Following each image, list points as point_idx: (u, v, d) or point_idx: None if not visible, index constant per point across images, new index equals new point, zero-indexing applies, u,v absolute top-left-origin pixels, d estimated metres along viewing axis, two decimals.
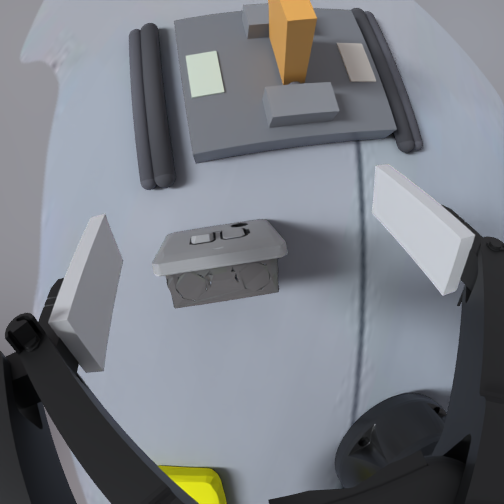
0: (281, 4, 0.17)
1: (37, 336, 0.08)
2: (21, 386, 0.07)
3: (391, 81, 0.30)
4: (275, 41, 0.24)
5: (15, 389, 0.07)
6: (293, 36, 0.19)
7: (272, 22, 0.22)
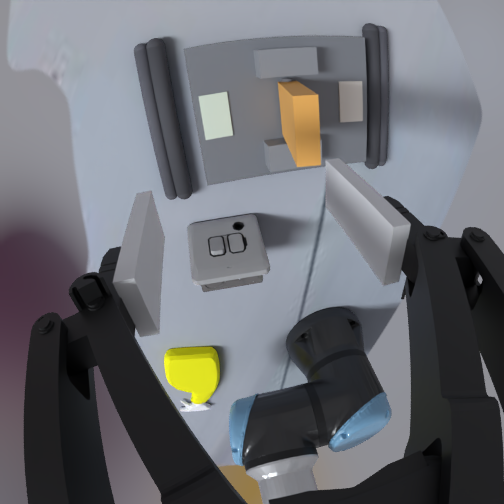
0: (296, 147, 0.25)
1: (102, 296, 0.09)
2: (79, 348, 0.09)
3: (377, 112, 0.36)
4: (283, 110, 0.30)
5: (72, 352, 0.09)
6: None
7: (284, 101, 0.28)
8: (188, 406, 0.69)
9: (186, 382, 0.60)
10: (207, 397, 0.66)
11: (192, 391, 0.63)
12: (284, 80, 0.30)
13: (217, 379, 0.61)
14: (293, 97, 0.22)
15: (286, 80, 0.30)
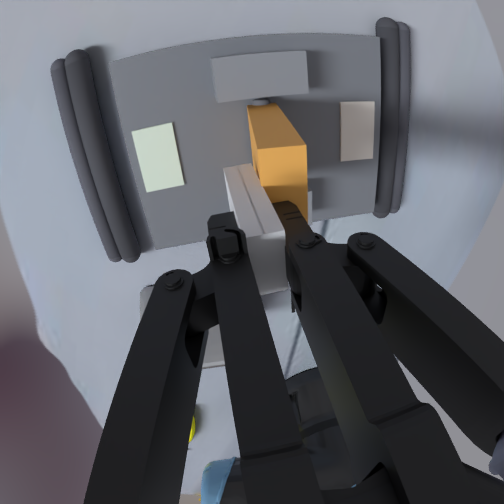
0: None
1: (238, 253, 0.10)
2: (209, 304, 0.10)
3: (393, 145, 0.26)
4: None
5: (201, 308, 0.10)
6: None
7: (252, 143, 0.18)
8: None
9: None
10: None
11: None
12: (256, 103, 0.20)
13: (192, 434, 0.52)
14: (259, 151, 0.13)
15: (259, 103, 0.20)
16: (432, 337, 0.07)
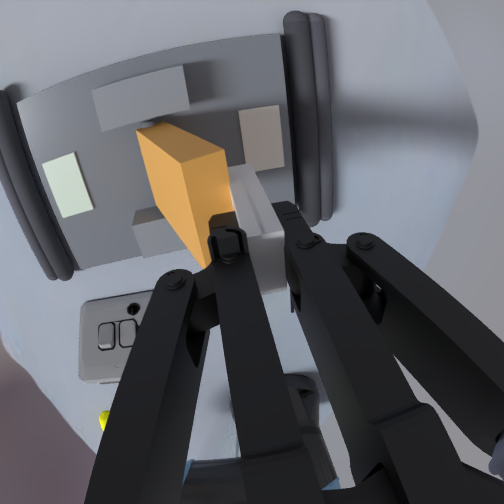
0: (201, 247, 0.15)
1: (239, 252, 0.10)
2: (211, 304, 0.10)
3: (312, 149, 0.26)
4: (154, 175, 0.19)
5: (202, 308, 0.10)
6: None
7: (155, 163, 0.18)
8: None
9: None
10: None
11: None
12: (145, 125, 0.20)
13: None
14: (182, 165, 0.13)
15: (148, 124, 0.20)
16: (432, 337, 0.07)
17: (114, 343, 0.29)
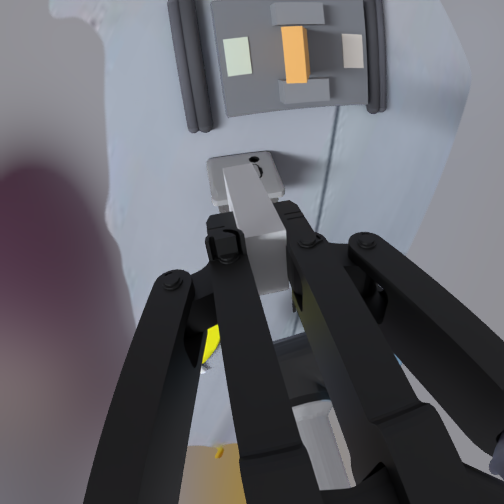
0: (285, 67, 0.28)
1: (237, 253, 0.10)
2: (208, 304, 0.10)
3: (376, 63, 0.38)
4: None
5: (200, 308, 0.10)
6: None
7: None
8: None
9: None
10: (206, 357, 0.68)
11: None
12: None
13: None
14: (281, 27, 0.25)
15: None
16: (433, 337, 0.07)
17: None
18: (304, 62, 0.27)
